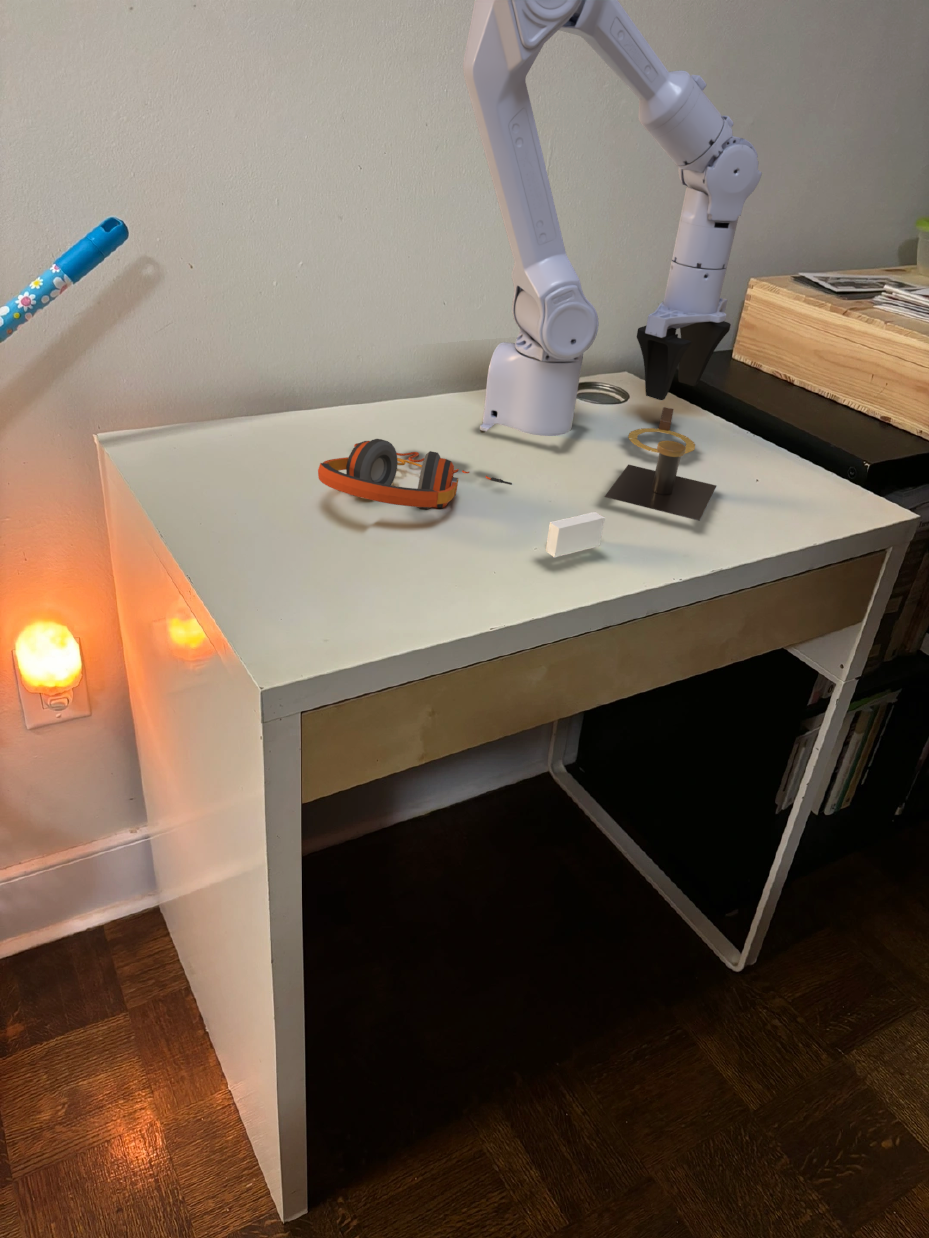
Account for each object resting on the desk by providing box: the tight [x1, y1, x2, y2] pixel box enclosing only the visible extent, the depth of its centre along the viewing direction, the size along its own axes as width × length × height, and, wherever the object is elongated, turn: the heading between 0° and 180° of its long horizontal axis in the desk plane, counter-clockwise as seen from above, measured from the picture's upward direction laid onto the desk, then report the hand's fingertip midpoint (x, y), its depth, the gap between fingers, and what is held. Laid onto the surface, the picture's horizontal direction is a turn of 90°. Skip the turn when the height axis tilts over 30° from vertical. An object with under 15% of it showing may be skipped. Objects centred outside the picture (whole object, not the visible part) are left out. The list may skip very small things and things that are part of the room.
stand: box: [604, 440, 717, 522], centre depth 88 cm, size 9×9×6 cm
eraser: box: [545, 511, 606, 558], centre depth 77 cm, size 1×5×4 cm, turn 123°
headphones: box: [317, 438, 513, 510], centre depth 83 cm, size 17×5×20 cm
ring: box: [627, 406, 696, 455], centre depth 102 cm, size 12×7×2 cm, turn 166°
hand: (671, 390), depth 103 cm, fingers open, 7 cm apart
